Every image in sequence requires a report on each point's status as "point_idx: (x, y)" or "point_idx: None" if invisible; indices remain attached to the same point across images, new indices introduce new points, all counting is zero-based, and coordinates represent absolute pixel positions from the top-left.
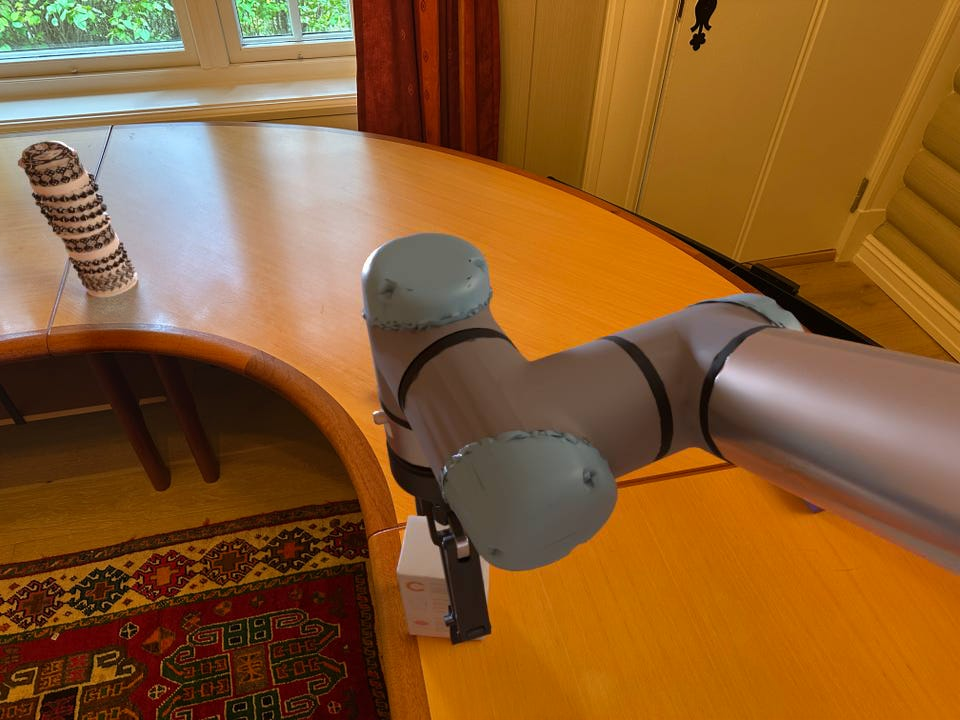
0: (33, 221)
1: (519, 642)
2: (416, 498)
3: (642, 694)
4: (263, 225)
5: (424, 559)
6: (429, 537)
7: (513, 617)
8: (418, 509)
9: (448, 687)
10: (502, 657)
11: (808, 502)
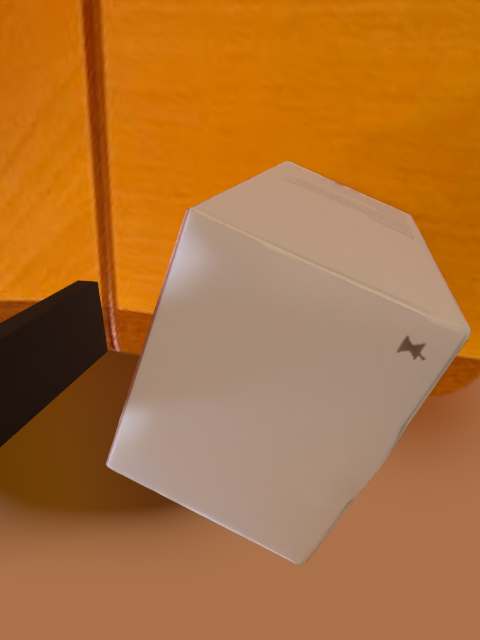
0: None
1: (452, 130)
2: (47, 401)
3: None
4: None
5: (283, 487)
6: (204, 444)
7: (386, 124)
8: (84, 366)
9: (468, 316)
10: (466, 185)
11: None
